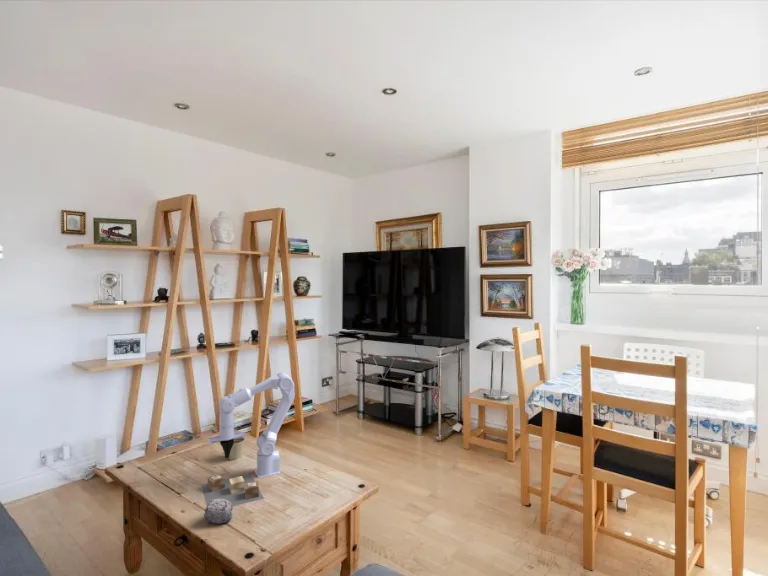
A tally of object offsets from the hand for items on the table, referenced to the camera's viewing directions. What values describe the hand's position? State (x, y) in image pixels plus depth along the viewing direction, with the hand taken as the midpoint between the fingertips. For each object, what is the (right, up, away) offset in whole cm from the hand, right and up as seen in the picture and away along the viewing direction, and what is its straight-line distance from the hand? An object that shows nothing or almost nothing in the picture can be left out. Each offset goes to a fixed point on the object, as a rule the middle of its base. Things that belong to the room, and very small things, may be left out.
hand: (226, 457), depth 178 cm
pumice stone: (+9, -11, -29) cm, 32 cm away
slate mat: (+5, -10, -9) cm, 15 cm away
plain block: (+7, -10, -8) cm, 15 cm away
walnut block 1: (-2, -10, -7) cm, 12 cm away
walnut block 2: (+15, -10, -12) cm, 21 cm away
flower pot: (-5, -10, +23) cm, 25 cm away
